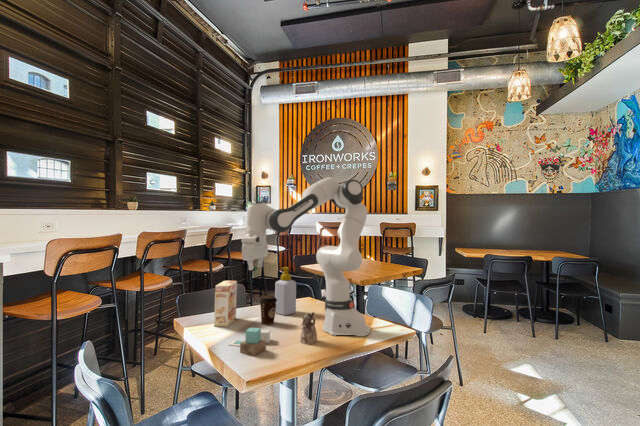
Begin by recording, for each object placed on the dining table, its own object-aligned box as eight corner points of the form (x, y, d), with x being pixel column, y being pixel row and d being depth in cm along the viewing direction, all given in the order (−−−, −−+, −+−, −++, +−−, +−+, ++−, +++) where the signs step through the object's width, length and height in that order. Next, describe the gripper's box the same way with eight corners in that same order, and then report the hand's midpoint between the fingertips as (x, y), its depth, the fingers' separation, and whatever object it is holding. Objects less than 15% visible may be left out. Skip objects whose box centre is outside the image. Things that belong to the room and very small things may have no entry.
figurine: (297, 339, 143) (298, 311, 143) (312, 337, 146) (313, 310, 146) (303, 345, 137) (304, 315, 137) (319, 343, 139) (319, 314, 140)
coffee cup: (278, 321, 169) (279, 295, 170) (274, 326, 161) (275, 299, 162) (261, 320, 170) (262, 294, 171) (257, 325, 162) (257, 298, 162)
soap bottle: (273, 313, 184) (274, 267, 185) (284, 310, 191) (285, 265, 192) (285, 316, 178) (286, 269, 179) (296, 312, 186) (297, 267, 186)
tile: (248, 341, 140) (248, 340, 140) (242, 346, 134) (242, 345, 134) (235, 340, 141) (235, 338, 141) (228, 345, 136) (228, 343, 136)
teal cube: (260, 339, 132) (260, 328, 132) (256, 343, 128) (256, 331, 128) (249, 339, 133) (249, 327, 133) (245, 343, 128) (245, 331, 128)
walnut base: (265, 350, 131) (266, 340, 131) (254, 357, 125) (254, 346, 125) (251, 347, 134) (251, 337, 134) (240, 353, 128) (240, 342, 128)
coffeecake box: (228, 326, 159) (229, 285, 160) (213, 326, 159) (214, 285, 160) (236, 318, 174) (237, 280, 175) (223, 317, 174) (224, 280, 175)
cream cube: (270, 339, 143) (270, 329, 143) (268, 343, 138) (268, 332, 138) (259, 339, 143) (259, 329, 143) (257, 343, 138) (258, 332, 138)
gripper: (259, 236, 162) (258, 265, 162) (239, 238, 142) (238, 271, 142) (271, 237, 161) (270, 266, 160) (253, 239, 141) (252, 272, 140)
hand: (255, 268), depth 151 cm, fingers open, 8 cm apart
